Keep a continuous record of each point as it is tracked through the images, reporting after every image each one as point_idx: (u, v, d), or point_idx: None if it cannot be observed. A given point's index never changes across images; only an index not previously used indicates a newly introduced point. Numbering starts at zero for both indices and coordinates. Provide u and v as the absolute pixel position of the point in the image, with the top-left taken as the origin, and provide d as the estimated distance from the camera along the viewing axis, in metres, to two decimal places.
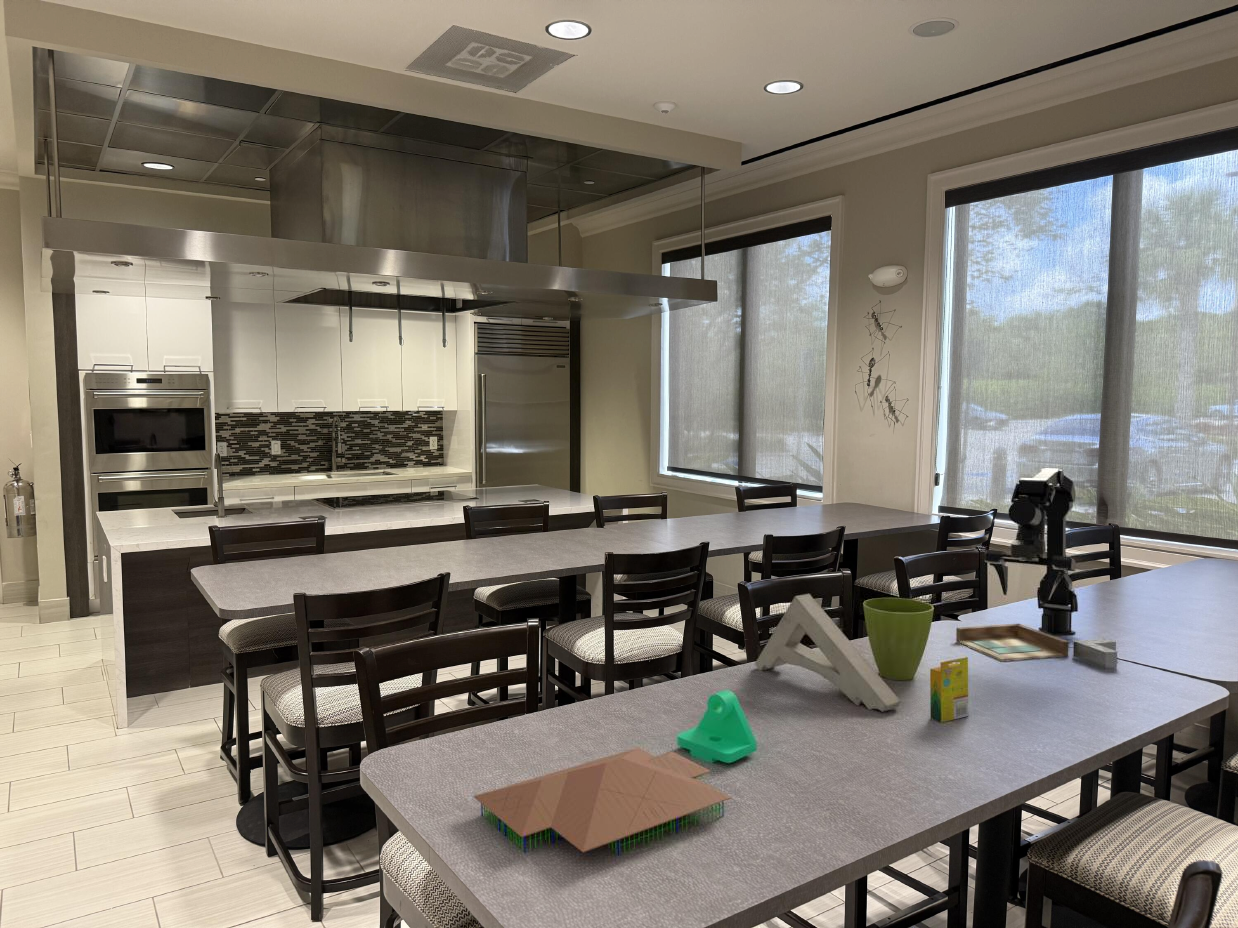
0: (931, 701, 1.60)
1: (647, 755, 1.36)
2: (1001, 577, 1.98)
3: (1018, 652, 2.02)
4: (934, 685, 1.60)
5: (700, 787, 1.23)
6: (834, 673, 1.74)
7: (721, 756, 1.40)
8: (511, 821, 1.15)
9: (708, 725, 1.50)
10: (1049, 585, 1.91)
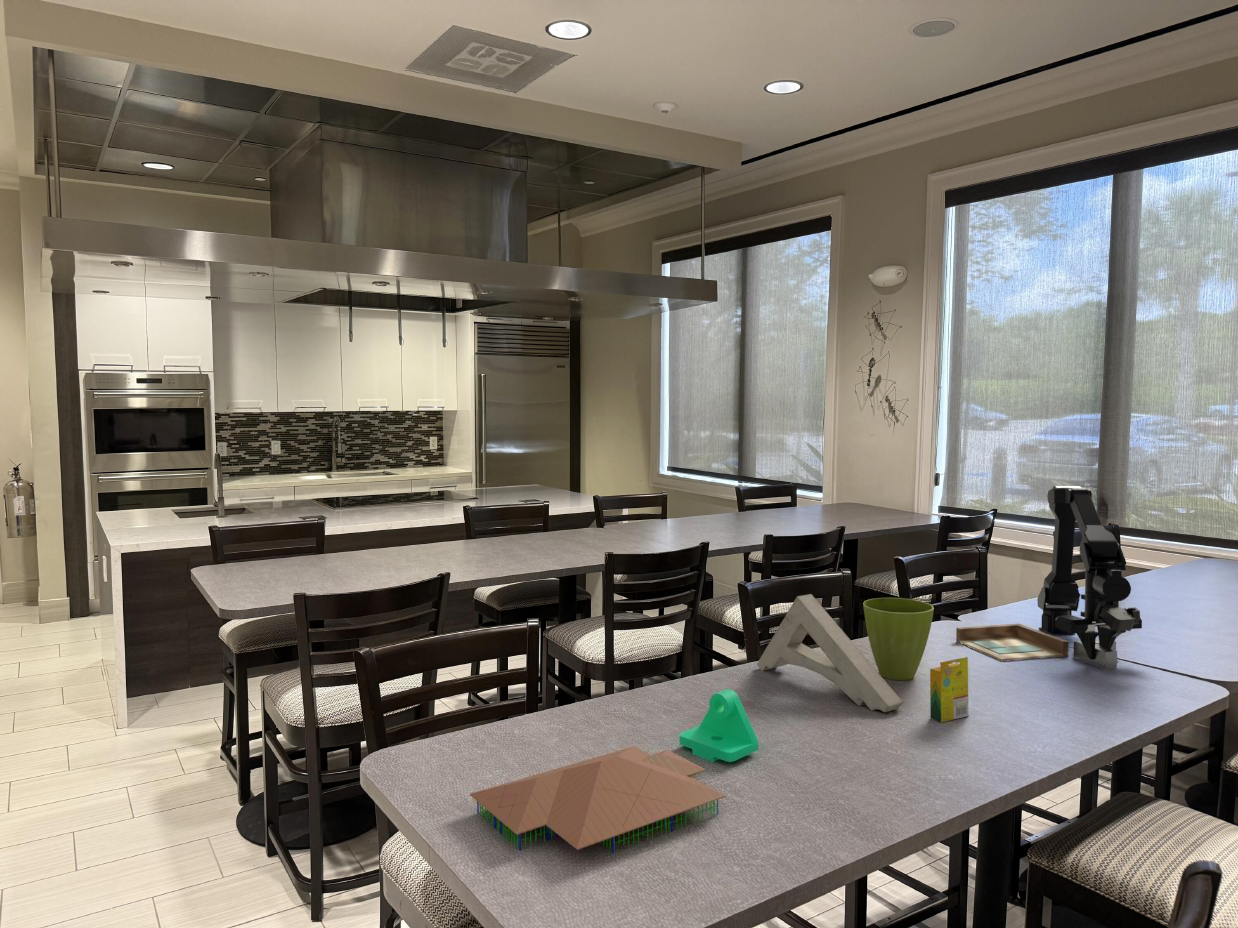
0: (931, 701, 1.60)
1: (643, 753, 1.36)
2: (1093, 644, 1.92)
3: (1018, 652, 2.02)
4: (934, 685, 1.60)
5: (695, 785, 1.23)
6: (836, 674, 1.73)
7: (723, 755, 1.40)
8: (506, 819, 1.16)
9: (710, 724, 1.50)
10: (1109, 645, 1.93)
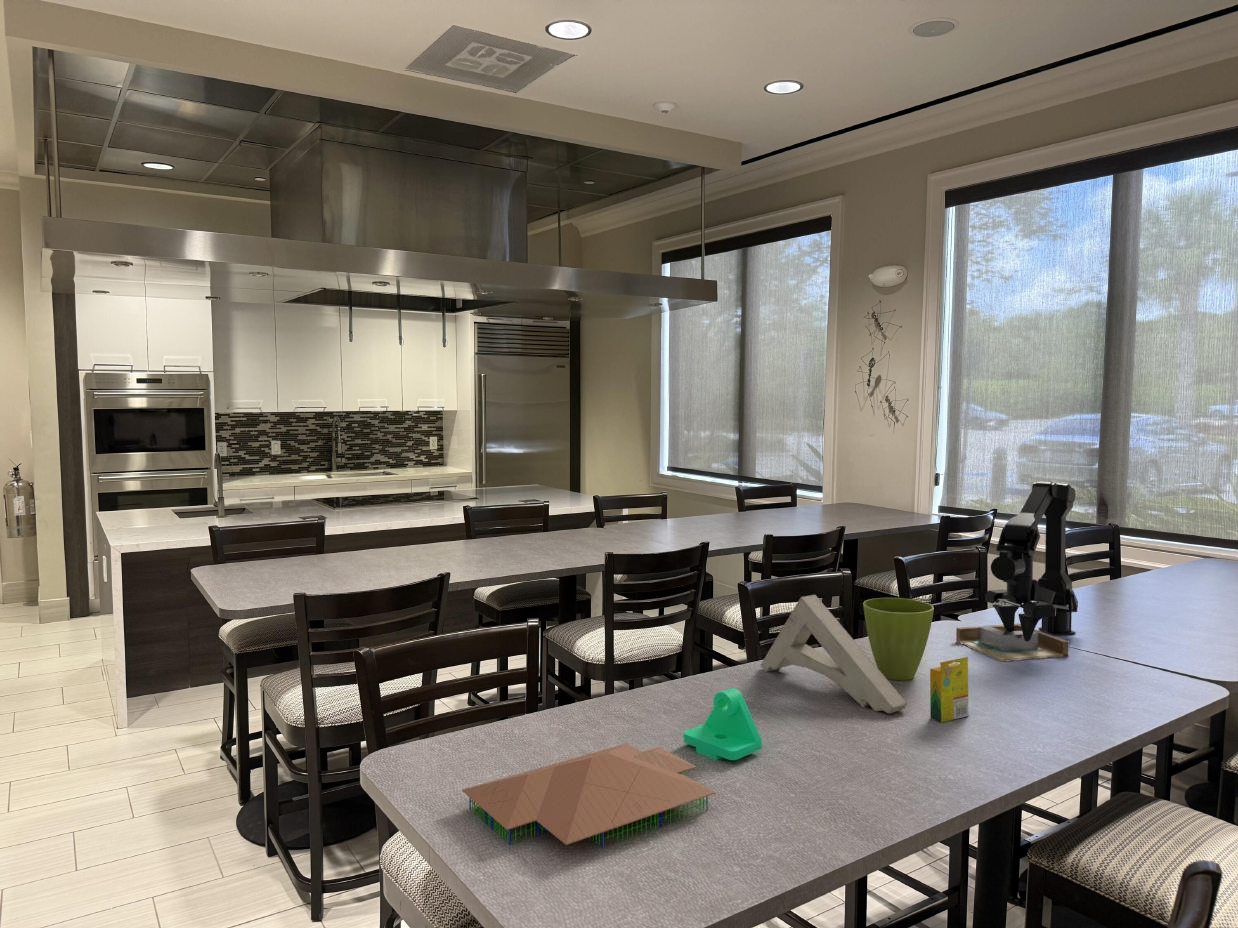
0: (931, 701, 1.60)
1: (634, 751, 1.38)
2: None
3: (1018, 652, 2.02)
4: (934, 685, 1.60)
5: (684, 782, 1.25)
6: (840, 675, 1.73)
7: (726, 753, 1.41)
8: (497, 815, 1.17)
9: (714, 723, 1.51)
10: None
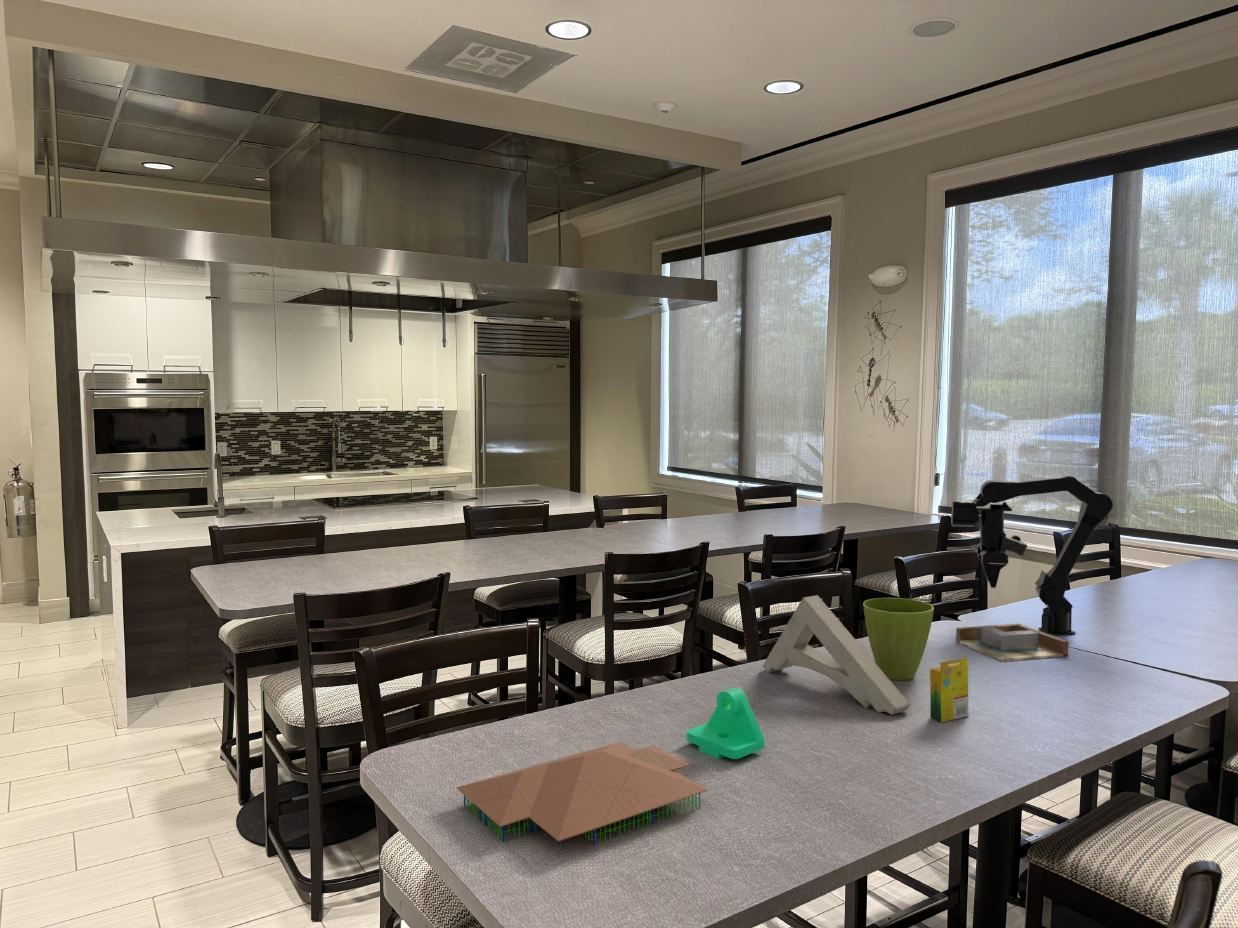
0: (931, 701, 1.60)
1: (628, 749, 1.38)
2: (998, 573, 2.22)
3: (1018, 652, 2.02)
4: (934, 685, 1.60)
5: (677, 779, 1.25)
6: (842, 676, 1.72)
7: (728, 752, 1.41)
8: (491, 812, 1.18)
9: (718, 722, 1.51)
10: None
